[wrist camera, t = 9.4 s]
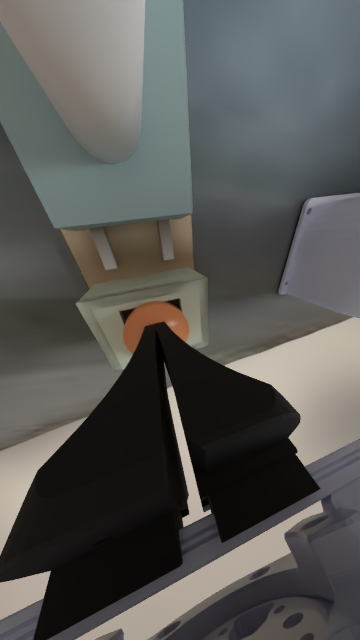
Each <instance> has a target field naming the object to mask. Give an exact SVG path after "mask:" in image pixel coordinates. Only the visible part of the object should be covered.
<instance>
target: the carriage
mask: <svg viewBox="0 0 360 640" xmlns="http://www.w3.org/2000/svg"><path fill="white" fill-rule="evenodd" d="M0 122H1V124H2V126H3V128H4V130H5V132H6V134H7V136H8V138H9V140H10V142H11V144H12V146H13V148H14V150H15V152H16V154H17V156H18V158H19V160H20V162H21V164H22V166H23V168H24V170H25V172H26V173H27V175H28V177H29V179H30V181H31V183H32V185H33V187H34V189H35V191H36V193H37V195H38V197H39V199H40V201H41V203H42V205H43V207H44V209H45V211H46V213H47V215H48V217H49V219H50V221H51V223H52V225H53V227H54V228H56V229H63V230H71V231H82V230H86V229H90V228H98V227H107V226H116V225H124V224H133V223H142V222H150V221H159V220H167V219H172V220H176V219H181V218H184V217H186V216H188V215H190V214H192V213H193V199H192V178H191V158H190V137H189V117H188V96H187V75H186V55H185V34H184V14H183V0H0Z"/></svg>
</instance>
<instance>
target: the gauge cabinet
mask: <svg viewBox="0 0 360 640" xmlns="http://www.w3.org/2000/svg"><path fill="white" fill-rule="evenodd" d="M174 299H179V306H180V310H181V312H182V313H183V315H184V316H185V318H186V320H187V322H188V324H189V336H188V339H187V341H186V343H187V344H188V345H190V346H191V347H192V348H194V349H197V348H200V347H204V346H207V345H208V278H207V277H206V276H204V275H202V274H200V273H198V272H196V271H195V270H193V269H191V268H189V267H188V268H182V269H176V270H171V271H165V272H160V273H154V274H148V275H143V276H137V277H132V278H126V279H120V280H115V281H109V282H104V283H98V284H94V285H93V286H92V287H91V288H90V289H89V290H88V291H87V292H86V293H85V294H84V296H83V297H82V298H81V299H80V300H79V301H78V302H77V303H76V305H77V307H78V309H79V311H80V312H81V314H82V316H83V317H84V319H85V321H86V323H87V324H88V326H89V328H90V329H91V331H92V333H93V335H94V336H95V338H96V340H97V341H98V343H99V345H100V346H101V348H102V350H103V352H104V353H105V355H106V357H107V358H108V360H109V362H110V364H111V365H112V367H113V369H114V370H115V371H119V370H122V369H125V367H126V366H127V364H128V362H129V361H130V359H131V357H132V355H133V354H132V353H131V352H130V351H129V350H128V349H127V347H126V345H125V343H124V339H123V332H124V326H125V319H124V317H123V314H122V312H121V311H123V310H127V309H132V308H137V307H138V306H140V305H142V304H144V303H147V302H152V301H164V302H165V301H169V300H174Z"/></svg>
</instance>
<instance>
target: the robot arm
mask: <svg viewBox="0 0 360 640" xmlns="http://www.w3.org/2000/svg"><path fill="white" fill-rule="evenodd" d="M278 293H279V294H281V295H284V294H289V295H291V296H294V297H297V298H300V299H302V300H305V301H308V302H311V303H313V304H316V305H319V306H321V307H324V308H327V309H330V310H332V311H335V312H338V313H341V314H345V315H348V316H352V317H357V318H360V193H352V194H343V195H334V196H325V197H316V198H310V199H307V200H306V201H305V203H304V205H303V208H302V211H301V215H300V218H299V222H298V225H297V229H296V232H295V235H294V239H293V242H292V246H291V249H290V253H289V256H288V260H287V263H286V266H285V270H284V273H283V277H282V280H281V284H280V287H279V291H278ZM164 362H165V365H166V368H167V371H168V374H169V377H170V380H171V383H172V386H173V389H174V392H175V396H176V401H177V405H178V409H179V413H180V417H181V421H182V426H183V430H184V434H185V438H186V442H187V446H188V450H189V454H190V458H191V462H192V466H193V471H194V474H195V478H196V482H197V487H198V491H199V495H200V499H201V503H202V507H203V511H204V512H206V511H207V510H210V509H211V513H212V514H210V515H208V516H206V517H204V518H202V519H200V520H198V521H196V522H194V523H192V524H190V525H188V526H186V527H183V521H182V518H183V517H185V516H187V515H189V510H188V504H187V499H188V496H189V495H188V491H187V485H186V481H185V476H184V471H183V467H182V462H181V457H180V453H179V448H178V443H177V439H176V433H175V429H174V424H173V419H172V414H171V409H170V404H169V400H168V394H167V385H166V376H165V368H164ZM299 423H300V414H299V413H298V412H297V411H296V410H295V409H294V408H293V407H292V406H291V405H290V404H289V402H288V401H287V400H286V399H285V398H284V397H283V396H282V395H281V394H280V393H279V392H278V391H277V390H276V389H275V388H274V387H273V386H272V385H270V384H267V383H265V382H262V381H259V380H257V379H254V378H251V377H249V376H246V375H244V374H241V373H239V372H236V371H234V370H232V369H230V368H227V367H225V366H223V365H221V364H219V363H218V362H216V361H214V360H212V359H210V358H208V357H206V356H205V355H203V354H201V353H200V352H198V351H197V350H195V349H194V348H192V347H191V346H190V345H188V344H187V343H186V342H185V341H183V340H182V339H181V338H180V337H179V336H178V335H177V334H175V333H174V332H173V331H172V330H171V328H170V327H169V326H168V325H167V324H166V322H160V323H156V324H151V325H147V326H145V327H144V330H143V333H142V336H141V338H140V341H139V343H138V345H137V347H136V349H135V351H134V353H133V355H132V357H131V359H130V361H129V362H128V364H127V366H126V367H125V369H124V371H123V372H122V374H121V375H120V377H119V378H118V380H117V381H116V382H115V384H114V385H113V387H112V388H111V389H110V391H109V392H108V393H107V395H106V396H105V397H104V398H103V400H102V401H101V402H100V403H99V404H98V406H97V407H96V408H95V409H94V410H93V412H92V413H91V414H90V415H89V416H88V417H87V419H86V420H85V421H84V422H83V423H82V424H81V426H80V427H79V428H78V429H77V430H76V431H75V432H74V433H73V434H72V435H71V436H70V437H69V438H68V439H67V441H66V442H65V443H64V444H63V445H62V446H61V447H60V448H59V449H58V450H57V451H56V452H55V453H54V454H53V455H52V456H51V458H49V460H48V461H47V462H46V463H45V464H44V465H43V466H42V467H41V468H40V469H39V470H38V471H37V474H36V476H35V478H34V480H33V482H32V484H31V486H30V488H29V490H28V493H27V495H26V497H25V500H24V502H23V504H22V506H21V509H20V511H19V513H18V516H17V518H16V520H15V523H14V525H13V527H12V530H11V532H10V534H9V537H8V539H7V541H6V544H5V546H4V548H3V551H2V553H1V555H0V582H5V581H10V580H15V579H19V578H23V577H27V576H31V575H35V574H39V573H43V572H47V571H51V573H50V577H49V581H48V585H47V589H46V592H45V596H44V598H43V599H42V600H40V601H37V602H35V603H33V604H32V605H30V606H28V607H26V608H24V609H22V610H20V611H18V612H16V613H14V614H12V615H10V616H8V617H6V618H4V619H2V620H0V640H75V639H77V638H78V637H80V636H82V635H84V634H85V633H87V632H89V631H91V630H92V629H94V628H96V627H98V626H99V625H101V624H103V623H105V622H106V621H108V620H110V619H112V618H114V617H115V616H117V615H119V614H121V613H122V612H124V611H126V610H128V609H129V608H131V607H133V606H135V605H136V604H138V603H140V602H142V601H144V600H145V599H147V598H149V597H151V596H152V595H154V594H156V593H158V592H159V591H161V590H163V589H165V588H166V587H168V586H170V585H172V584H173V583H175V582H177V581H179V580H181V579H182V578H184V577H186V576H188V575H189V574H191V573H193V572H195V571H196V570H198V569H200V568H202V567H203V566H205V565H207V564H209V563H210V562H212V561H214V560H216V559H218V558H219V557H221V556H223V555H225V554H226V553H228V552H230V551H232V550H233V549H235V548H237V547H239V546H240V545H242V544H244V543H246V542H247V541H249V540H251V539H253V538H255V537H256V536H258V535H260V534H262V533H263V532H265V531H267V530H269V529H270V528H272V527H274V526H276V525H277V524H279V523H281V522H283V521H284V520H286V519H288V518H290V517H291V516H293V515H295V514H297V513H298V512H300V511H302V510H304V509H306V508H307V507H309V506H311V505H313V504H314V503H316V502H318V501H320V500H321V503H322V507H323V513H320V514H316V515H313V516H310V517H308V518H306V519H303V520H302V521H300V522H299V523H297V524H296V525H295V526H293V527H292V528H291V529H290V530H288V532H286V533H285V540H286V542H287V544H288V546H289V548H290V550H291V552H292V553H290V554H288V555H286V556H284V557H282V558H280V559H278V560H276V561H274V562H273V563H270V564H268V565H266V566H265V567H262V568H260V569H258V570H256V571H255V572H253V573H251V574H249V575H247V576H245V577H243V578H241V579H239V580H237V581H235V582H234V583H232V584H230V585H228V586H227V587H225V588H223V589H222V590H220V591H218V592H216V593H215V594H213V595H212V596H210V597H208V598H207V599H205V600H204V601H202V602H201V603H199V604H198V605H196V606H195V607H193V608H192V609H190V610H189V611H187V612H186V613H185V614H183V615H182V616H180V617H179V618H177V619H176V620H175V621H173V622H172V623H170V624H169V625H168V626H166V627H165V628H163V629H162V630H160V631H159V632H158V633H156V634H155V635H154V636H152V637H151V638H149V639H148V640H360V439H358V440H356V441H354V442H352V443H350V444H348V445H346V446H345V447H342V448H340V449H338V450H336V451H335V452H333V453H331V454H329V455H327V456H325V457H323V458H321V459H319V460H317V461H315V462H313V463H311V464H309V465H307V466H305V467H304V465H303V464H302V462H301V461H300V460H299V458H298V457H297V456H296V453H297V452H298V451H297V449H296V447H295V446H294V445H293V444H292V442H291V441H290V440H289V438H288V437H289V436H290V435H291V433H292V432H293V431H294V430H295V429H296V427H297V426H298V425H299ZM123 636H124V633H123V631H122V629H118V630H116V631H114V632H111V633H108V634H106V635H103V636H101V637H99V638H97V639H95V640H123Z"/></svg>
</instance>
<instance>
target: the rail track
mask: <svg viewBox="0 0 360 640" xmlns="http://www.w3.org/2000/svg"><path fill="white" fill-rule="evenodd" d="M61 232H62V234H63V236H64V238H65V240H66V242H67V244H68V246H69V248H70V250H71V252H72V254H73V256H74V258H75V260H76V262H77V264H78V266H79V268H80V270H81V272H82V274H83V276H84V278H85V280H86V282H87V284H88V287H89V289H90V288H91V287H92V286H93V285H94V284H98V283H104V282H109V281H115V280H120V279H126V278H132V277H137V276H143V275H148V274H154V273H160V272H165V271H171V270H176V269H182V268H188V267H189V268H191V269H193V270H194V258H193V240H192V222H191V214H190V215H188V216H186V217H184V218H181V219H176V220H172V219H167V220H159V221H150V222H142V223H133V224H124V225H116V226H107V227H98V228H90V229H86V230H82V231H71V230H63V229H61ZM168 303H171V304H173V305H175V306H176V307H177V308H179V309H180V306H179V299H174V300H169V301H168ZM134 309H135V308H132V309H127V310H123V311H121V312H122V314H123V317H124V319H125V322H126V319H127V317H128V316H129V314H130V313H131V312H132V311H133V310H134Z"/></svg>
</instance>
